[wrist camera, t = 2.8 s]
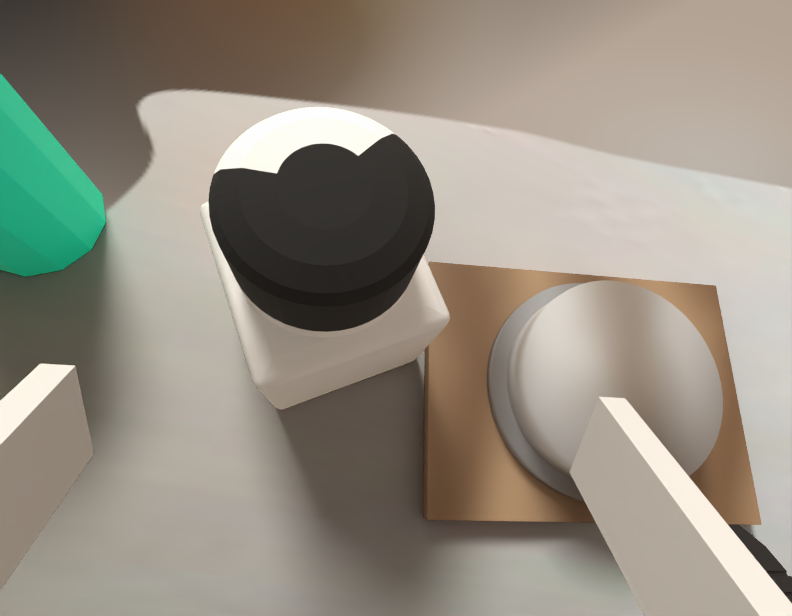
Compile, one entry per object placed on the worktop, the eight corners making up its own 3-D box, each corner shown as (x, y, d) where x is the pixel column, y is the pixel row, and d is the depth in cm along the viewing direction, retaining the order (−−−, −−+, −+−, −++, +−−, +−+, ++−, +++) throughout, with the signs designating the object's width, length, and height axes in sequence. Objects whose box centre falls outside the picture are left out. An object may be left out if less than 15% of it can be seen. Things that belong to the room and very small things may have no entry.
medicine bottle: (418, 360, 23) (505, 267, 12) (276, 412, 22) (223, 362, 10) (367, 235, 25) (402, 51, 14) (232, 275, 23) (145, 102, 12)
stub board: (423, 517, 21) (444, 529, 17) (425, 269, 25) (443, 235, 21) (743, 521, 23) (825, 534, 19) (701, 291, 27) (763, 264, 23)
